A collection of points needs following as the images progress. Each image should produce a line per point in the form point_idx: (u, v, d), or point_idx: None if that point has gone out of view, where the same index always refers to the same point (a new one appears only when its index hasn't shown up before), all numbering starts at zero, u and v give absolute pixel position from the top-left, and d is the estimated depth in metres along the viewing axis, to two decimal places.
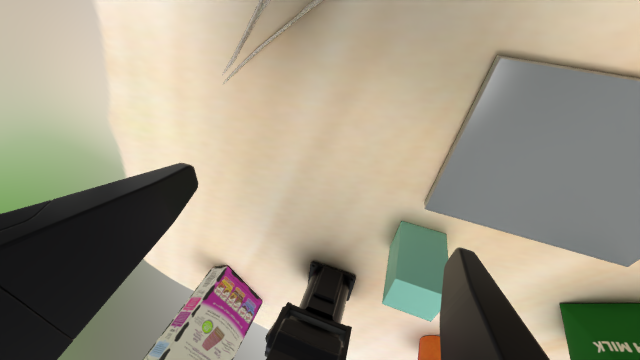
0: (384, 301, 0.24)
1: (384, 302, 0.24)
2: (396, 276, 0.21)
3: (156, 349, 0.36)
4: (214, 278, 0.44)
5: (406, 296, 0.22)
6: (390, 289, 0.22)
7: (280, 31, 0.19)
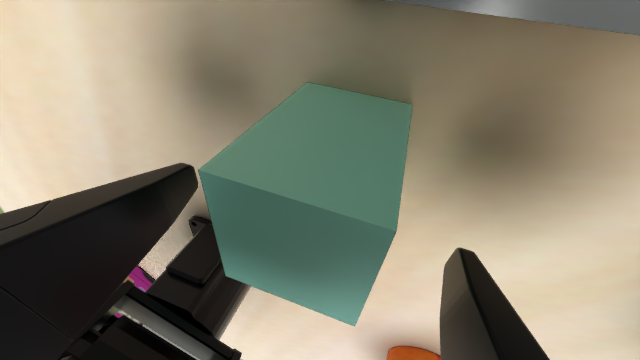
0: (226, 267, 0.08)
1: (228, 271, 0.08)
2: (205, 165, 0.06)
3: None
4: None
5: (260, 242, 0.07)
6: (214, 222, 0.07)
7: None
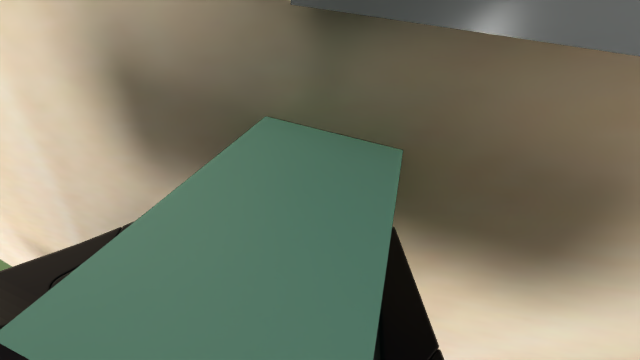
0: None
1: None
2: (13, 323, 0.03)
3: None
4: None
5: None
6: None
7: None
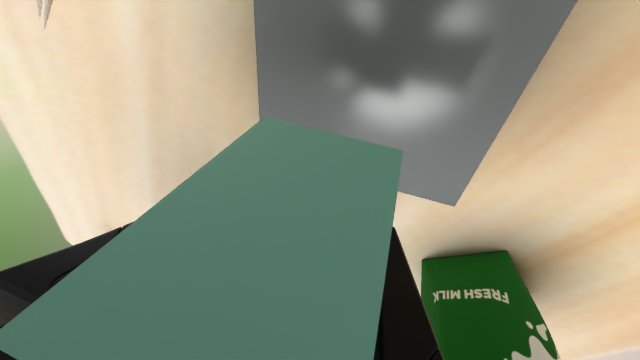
0: None
1: None
2: (7, 327, 0.03)
3: None
4: None
5: None
6: None
7: None
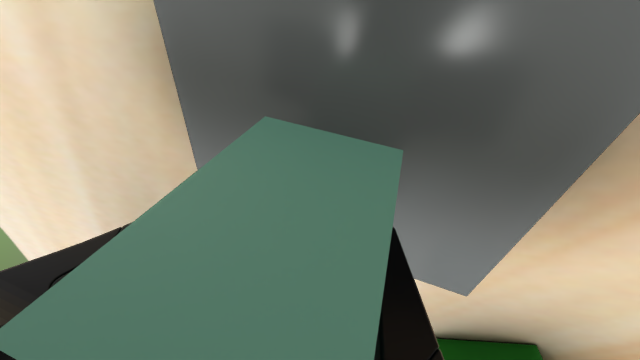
0: None
1: None
2: (5, 327, 0.03)
3: None
4: None
5: None
6: None
7: None
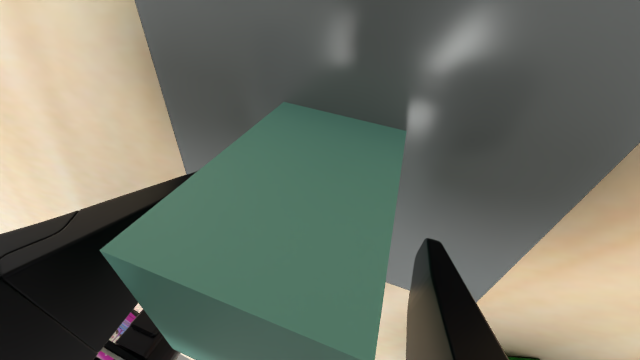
0: (170, 342, 0.07)
1: (173, 346, 0.07)
2: (113, 242, 0.04)
3: None
4: None
5: (200, 332, 0.05)
6: (141, 302, 0.05)
7: None
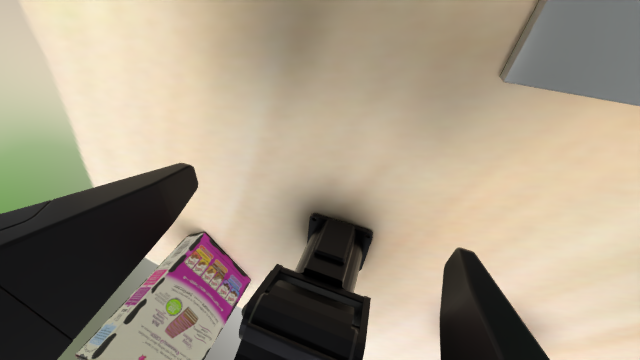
0: None
1: None
2: None
3: (99, 335, 0.26)
4: (186, 246, 0.34)
5: None
6: None
7: None
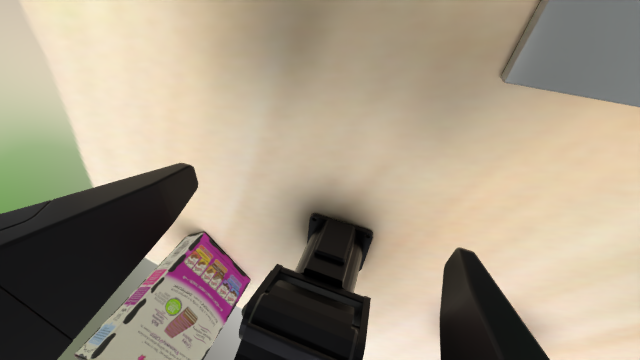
0: None
1: None
2: None
3: (98, 334, 0.26)
4: (186, 246, 0.34)
5: None
6: None
7: None
